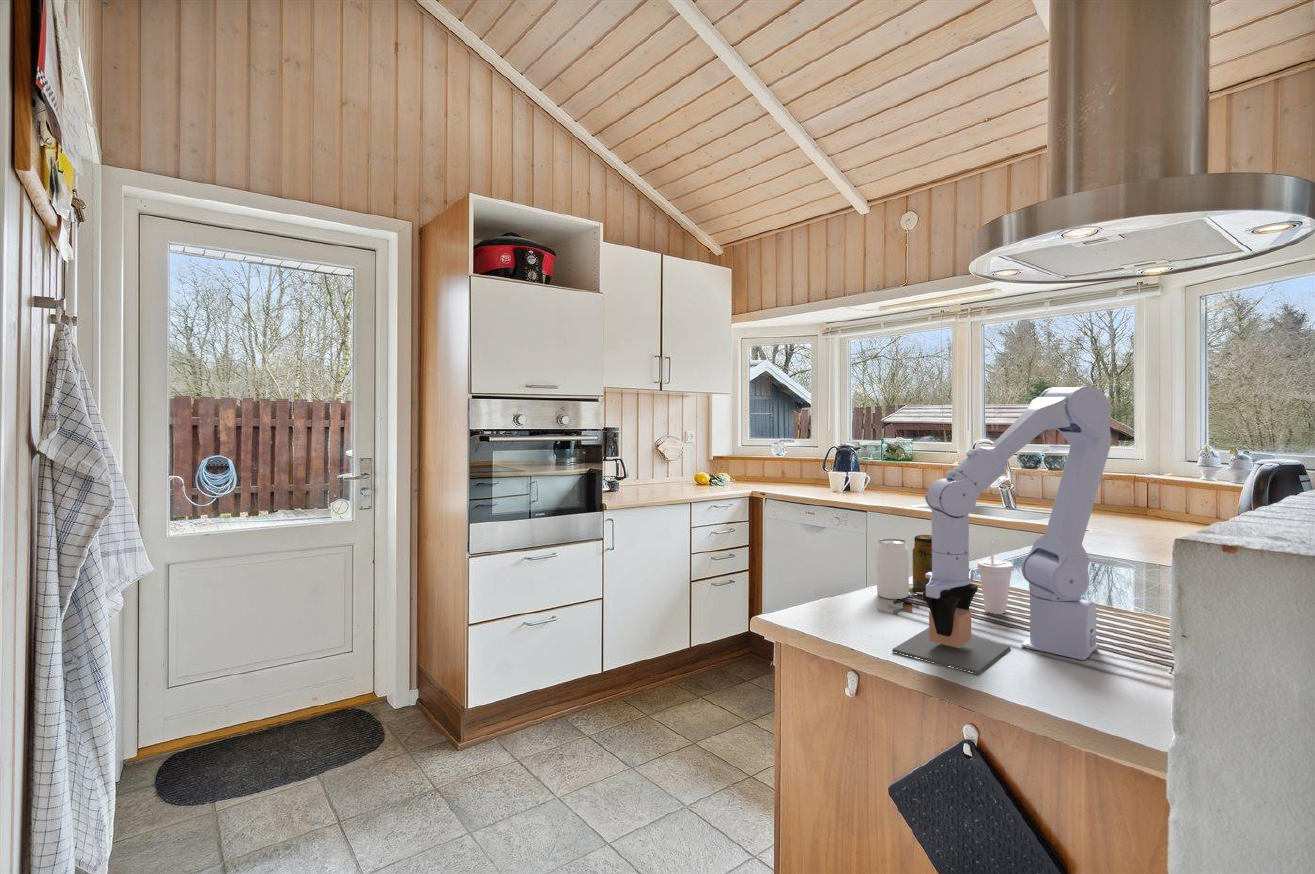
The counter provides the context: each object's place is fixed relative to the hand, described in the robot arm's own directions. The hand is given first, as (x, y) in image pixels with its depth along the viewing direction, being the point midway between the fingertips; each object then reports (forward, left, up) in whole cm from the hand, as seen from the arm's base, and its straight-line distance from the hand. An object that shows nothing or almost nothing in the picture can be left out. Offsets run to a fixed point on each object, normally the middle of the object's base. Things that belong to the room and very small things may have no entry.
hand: (950, 630), depth 114 cm
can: (+22, -23, -4) cm, 32 cm away
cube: (0, 0, -2) cm, 2 cm away
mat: (0, 0, -4) cm, 4 cm away
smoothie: (+2, -26, -4) cm, 26 cm away
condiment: (+18, -31, -4) cm, 36 cm away
